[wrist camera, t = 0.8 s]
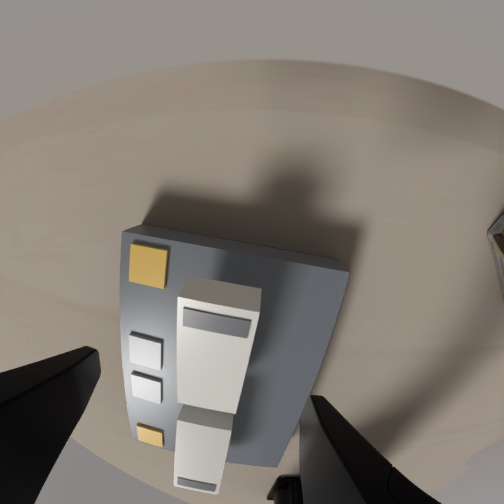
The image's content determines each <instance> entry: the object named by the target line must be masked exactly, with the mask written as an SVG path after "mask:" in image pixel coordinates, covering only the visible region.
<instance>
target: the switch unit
mask: <svg viewBox="0 0 504 504" xmlns="http://www.w3.org/2000/svg"><path fill="white" fill-rule="evenodd" d="M189 275H191V276H196V277H201V278H206V279H212V280H217V281H222V282H228V283H233V284H238V285H244V286H250V287H255V288H261V289H262V290H261V304H260V314H259V319H258V323H257V327H256V332H255V336H254V340H253V344H252V349H251V353H250V357H249V361H248V366H247V370H246V374H245V378H244V382H243V386H242V390H241V394H240V399H239V403H238V407H237V411H236V414H234V415H233V424H232V432H231V437H230V442H229V446H228V451H227V456H226V460H225V462H230V463H237V464H245V465H254V466H264V467H277V466H278V464H279V462H280V460H281V458H282V456H283V454H284V452H285V450H286V448H287V446H288V443H289V441H290V439H291V437H292V435H293V433H294V430H295V428H296V426H297V424H298V421H299V419H300V416H301V413H302V410H303V408H304V405H305V403H306V401H307V398H308V397H309V395H310V392H311V390H312V387H313V385H314V382H315V380H316V377H317V374H318V372H319V369H320V366H321V363H322V361H323V358H324V355H325V352H326V349H327V347H328V344H329V341H330V338H331V335H332V332H333V329H334V326H335V322H336V319H337V316H338V313H339V310H340V306H341V303H342V300H343V296H344V293H345V289H346V286H347V282H348V279H349V275H350V272H349V271H348V270H347V269H346V268H345V267H344V266H343V264H342V263H341V262H340V261H339V260H337V259H332V258H327V257H321V256H316V255H310V254H305V253H300V252H294V251H289V250H283V249H278V248H272V247H267V246H261V245H256V244H250V243H245V242H239V241H233V240H228V239H222V238H217V237H211V236H205V235H200V234H194V233H188V232H183V231H177V230H171V229H165V228H160V227H154V226H148V225H142V224H141V225H138V226H135V227H133V228H130V229H127V230H125V231H122V242H121V262H120V331H121V350H122V364H123V375H124V385H125V394H126V402H127V409H128V416H129V423H130V429H131V434H132V439H134V440H137V441H140V442H143V443H146V444H149V445H153V446H156V447H160V448H163V449H167V450H171V451H175V444H176V428H177V419H178V416H179V414H180V411H181V409H182V406H183V403H178V402H177V300H178V295H179V293H180V291H181V289H182V288H183V286H184V284H185V282H186V280H187V278H188V276H189ZM185 405H187V404H185ZM189 406H191V405H189ZM193 407H196V406H193ZM198 408H201V407H198ZM203 409H205V408H203ZM208 410H210V409H208ZM213 411H216V410H213ZM218 412H221V411H218ZM224 413H227V412H224ZM230 414H233V413H230Z"/></svg>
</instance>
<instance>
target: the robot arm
mask: <svg viewBox="0 0 504 504" xmlns="http://www.w3.org/2000/svg"><path fill="white" fill-rule="evenodd" d="M100 374H101V367H100V359H99V352H98V350H96V349H94V348H92V347H89V346H84V347H81V348H78V349H75V350H72V351H69V352H66V353H63V354H60V355H57V356H53V357H50V358H47V359H44V360H41V361H38V362H34V363H31V364H28V365H25V366H21V367H18V368H15V369H12V370H8V371H5V372H1V373H0V504H34V503H35V501H36V499H37V497H38V495H39V493H40V491H41V489H42V487H43V485H44V483H45V481H46V479H47V477H48V475H49V474H50V472H51V470H52V468H53V466H54V464H55V462H56V460H57V459H58V457H59V455H60V453H61V451H62V449H63V448H64V446H65V444H66V442H67V441H68V439H69V437H70V435H71V434H72V432H73V430H74V428H75V427H76V425H77V423H78V421H79V420H80V418H81V416H82V414H83V413H84V411H85V408H86V406H87V404H88V402H89V400H90V397H91V395H92V393H93V391H94V388H95V386H96V384H97V382H98V380H99V377H100ZM299 463H300V473H301V478H277V479H276V481H275V483H274V485H273V486H272V488H271V490H270V492H269V493H268V495H267V500H274V504H441V503H440V502H438V501H437V500H435V499H434V498H432V497H431V496H429V495H428V494H427V493H425V492H424V491H422V490H421V489H420V488H418V487H417V486H416V485H414V484H413V483H412V482H411V481H410V480H409V479H407V478H406V477H405V476H404V475H403V474H402V473H401V472H399V471H398V470H397V469H396V468H395V467H392V464H391V463H390V462H389V461H388V460H387V459H386V458H384V457H383V456H382V455H381V454H380V453H379V452H378V451H377V450H376V449H375V448H374V447H373V446H372V445H371V444H370V443H369V442H368V441H367V440H366V439H365V438H364V437H363V436H362V435H361V434H360V433H359V432H358V431H357V430H356V429H355V428H354V427H353V426H352V425H351V424H350V423H349V422H348V421H347V420H346V419H345V418H344V417H343V416H342V415H341V414H340V413H339V412H338V411H337V410H336V409H335V408H334V407H333V406H332V405H331V404H330V403H329V402H328V401H327V400H326V398H325V397H323V396H319V395H310V396H309V397H308V398H307V401H306V403H305V405H304V408H303V410H302V413H301V416H300V449H299Z"/></svg>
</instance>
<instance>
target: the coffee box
mask: <svg viewBox="0 0 504 504" xmlns="http://www.w3.org/2000/svg"><path fill="white" fill-rule="evenodd" d="M487 235H488V238H489V242H490V245H491V248H492V252H493V255H494V259H495V263H496V267H497V271H498V275H499V280H500V284H501V289H502V294H503V300H504V214H503V215H502V216H501V217H500V218H499V219H498V220H497V221H496V223H495V224H494V225H493V226H492V227H491V228H490V229H489V230H488V234H487Z"/></svg>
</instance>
